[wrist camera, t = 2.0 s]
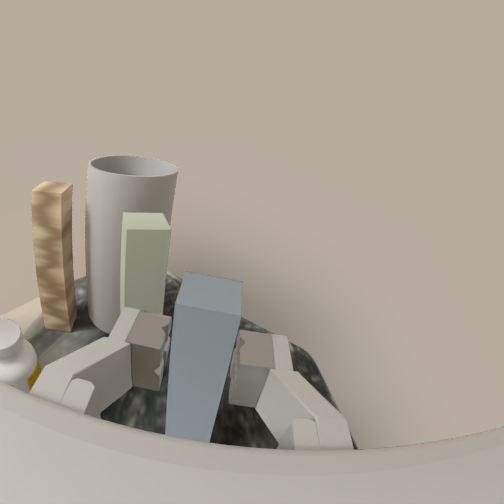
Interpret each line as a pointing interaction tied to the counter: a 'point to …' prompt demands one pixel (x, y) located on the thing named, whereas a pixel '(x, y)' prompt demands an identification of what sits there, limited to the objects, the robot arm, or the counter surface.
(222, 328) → the post slate
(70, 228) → the post oak
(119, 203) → the cylinder vase
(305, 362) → the counter surface
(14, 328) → the supplement bottle
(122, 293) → the post sage
